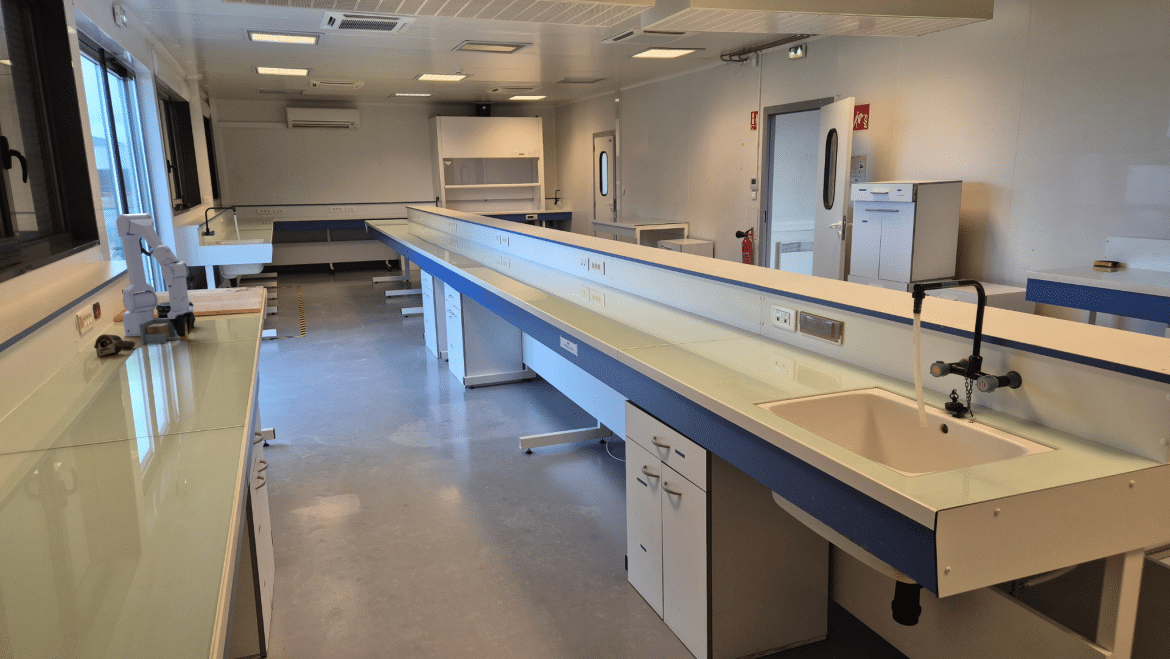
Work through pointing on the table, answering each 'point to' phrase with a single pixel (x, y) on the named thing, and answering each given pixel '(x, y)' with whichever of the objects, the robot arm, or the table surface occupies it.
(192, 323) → the container
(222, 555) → the table surface
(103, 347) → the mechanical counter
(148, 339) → the grey u-shaped cradle
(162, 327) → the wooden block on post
